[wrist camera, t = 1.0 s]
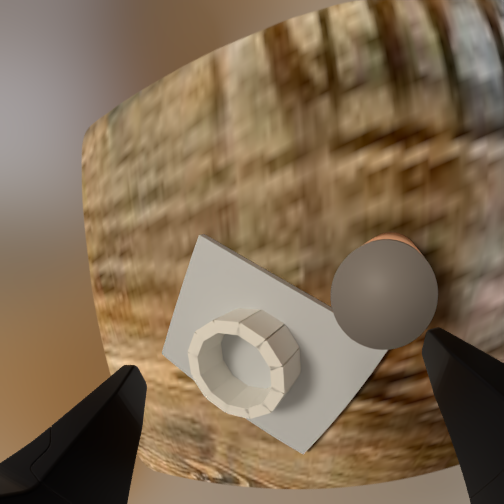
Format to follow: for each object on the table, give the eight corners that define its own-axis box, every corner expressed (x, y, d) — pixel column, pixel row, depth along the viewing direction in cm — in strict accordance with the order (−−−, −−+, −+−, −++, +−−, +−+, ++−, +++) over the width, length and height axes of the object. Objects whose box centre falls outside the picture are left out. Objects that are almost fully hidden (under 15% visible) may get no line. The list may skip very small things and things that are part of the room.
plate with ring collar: (391, 341, 20) (388, 366, 16) (306, 449, 24) (289, 477, 20) (204, 234, 27) (171, 236, 23) (166, 351, 31) (138, 364, 27)
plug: (430, 250, 18) (457, 273, 9) (401, 304, 19) (400, 367, 10) (377, 221, 20) (360, 220, 11) (350, 276, 21) (312, 317, 12)
